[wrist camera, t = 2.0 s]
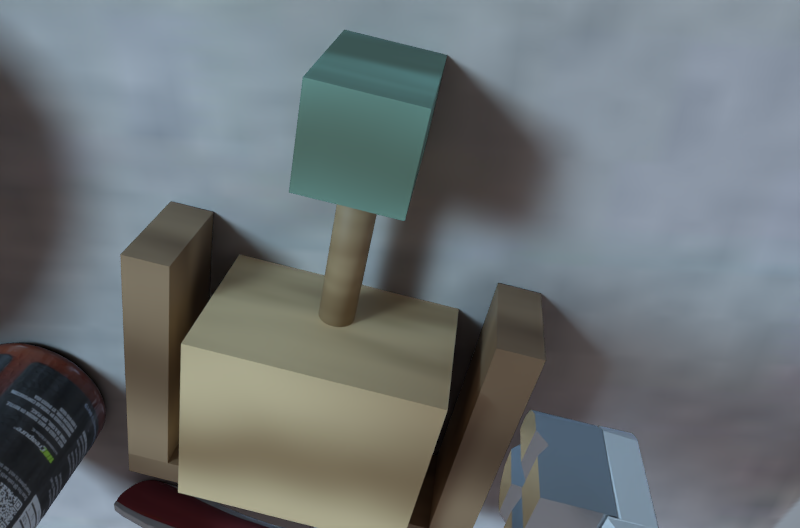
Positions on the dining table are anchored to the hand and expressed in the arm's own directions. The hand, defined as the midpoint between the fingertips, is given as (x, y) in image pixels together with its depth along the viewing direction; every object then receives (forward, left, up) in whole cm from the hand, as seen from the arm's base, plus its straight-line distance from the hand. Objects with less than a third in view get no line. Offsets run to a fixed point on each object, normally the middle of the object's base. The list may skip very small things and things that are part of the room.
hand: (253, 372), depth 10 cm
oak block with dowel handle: (+6, 0, -12) cm, 13 cm away
